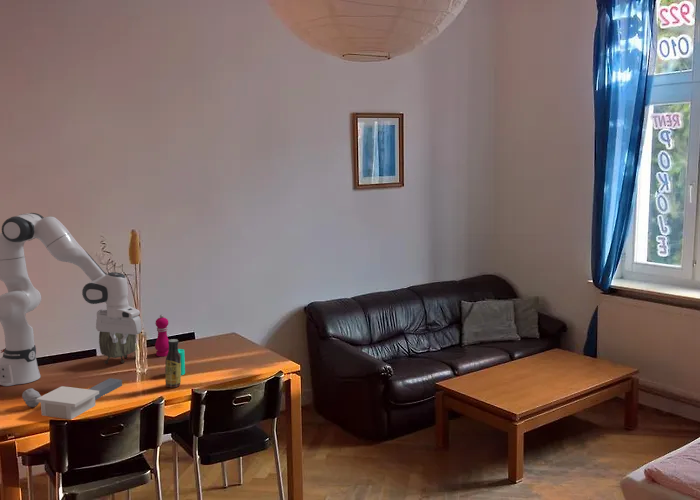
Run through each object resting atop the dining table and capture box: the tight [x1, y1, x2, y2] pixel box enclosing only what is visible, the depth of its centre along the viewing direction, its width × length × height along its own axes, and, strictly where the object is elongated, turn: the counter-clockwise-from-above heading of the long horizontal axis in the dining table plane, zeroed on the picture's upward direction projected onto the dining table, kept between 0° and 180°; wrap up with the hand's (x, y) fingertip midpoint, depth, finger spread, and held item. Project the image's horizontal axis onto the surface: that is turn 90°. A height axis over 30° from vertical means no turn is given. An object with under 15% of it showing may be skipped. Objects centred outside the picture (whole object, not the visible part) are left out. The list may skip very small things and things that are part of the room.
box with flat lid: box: [36, 385, 99, 420], centre depth 252 cm, size 17×14×6 cm
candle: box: [178, 348, 186, 376], centre depth 294 cm, size 6×6×12 cm
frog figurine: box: [21, 388, 42, 408], centre depth 256 cm, size 6×7×7 cm
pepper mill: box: [154, 314, 170, 357], centre depth 320 cm, size 7×7×20 cm
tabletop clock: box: [98, 331, 137, 365], centre depth 307 cm, size 14×9×25 cm, turn 145°
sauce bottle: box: [164, 338, 182, 389], centre depth 278 cm, size 7×6×20 cm
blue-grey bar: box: [88, 377, 123, 401], centre depth 272 cm, size 18×6×3 cm, turn 162°
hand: (119, 342), depth 281 cm, fingers open, 3 cm apart
